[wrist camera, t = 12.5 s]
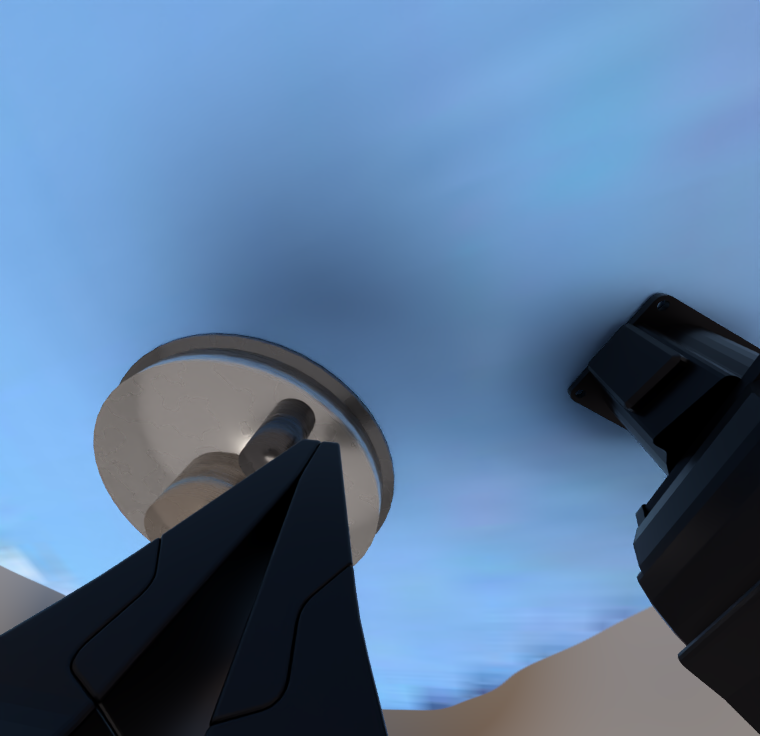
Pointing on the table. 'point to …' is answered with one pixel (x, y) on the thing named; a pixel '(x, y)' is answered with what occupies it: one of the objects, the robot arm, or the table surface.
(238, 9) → the table surface
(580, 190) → the table surface
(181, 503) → the cover
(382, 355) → the table surface
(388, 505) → the turntable base
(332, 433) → the turntable
